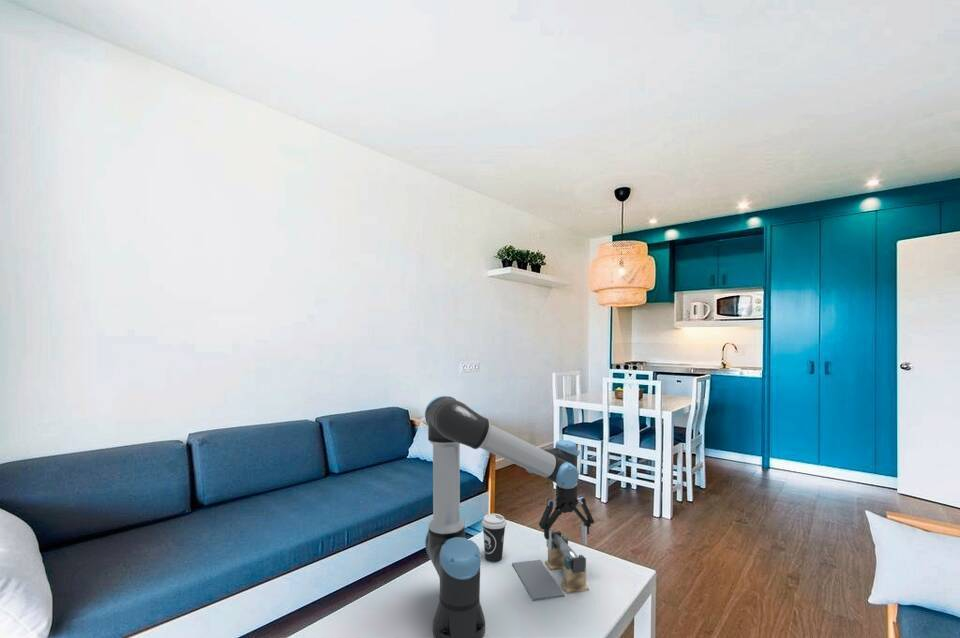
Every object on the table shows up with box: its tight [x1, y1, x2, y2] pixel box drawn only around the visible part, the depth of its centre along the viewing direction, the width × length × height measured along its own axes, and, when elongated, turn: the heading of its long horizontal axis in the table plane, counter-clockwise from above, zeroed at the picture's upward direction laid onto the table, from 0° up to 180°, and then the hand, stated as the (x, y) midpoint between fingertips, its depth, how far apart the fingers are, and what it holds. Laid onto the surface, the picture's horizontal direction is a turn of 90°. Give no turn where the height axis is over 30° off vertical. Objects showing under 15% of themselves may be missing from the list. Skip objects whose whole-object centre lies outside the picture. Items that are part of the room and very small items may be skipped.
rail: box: [551, 530, 586, 573], centre depth 151 cm, size 20×4×4 cm, turn 13°
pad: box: [511, 559, 566, 602], centre depth 148 cm, size 11×22×1 cm, turn 13°
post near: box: [560, 554, 590, 594], centre depth 144 cm, size 8×5×10 cm, turn 103°
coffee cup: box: [481, 513, 507, 563], centre depth 162 cm, size 10×10×15 cm
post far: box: [544, 535, 569, 571], centre depth 157 cm, size 8×5×10 cm, turn 103°
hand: (566, 545), depth 151 cm, fingers open, 13 cm apart
